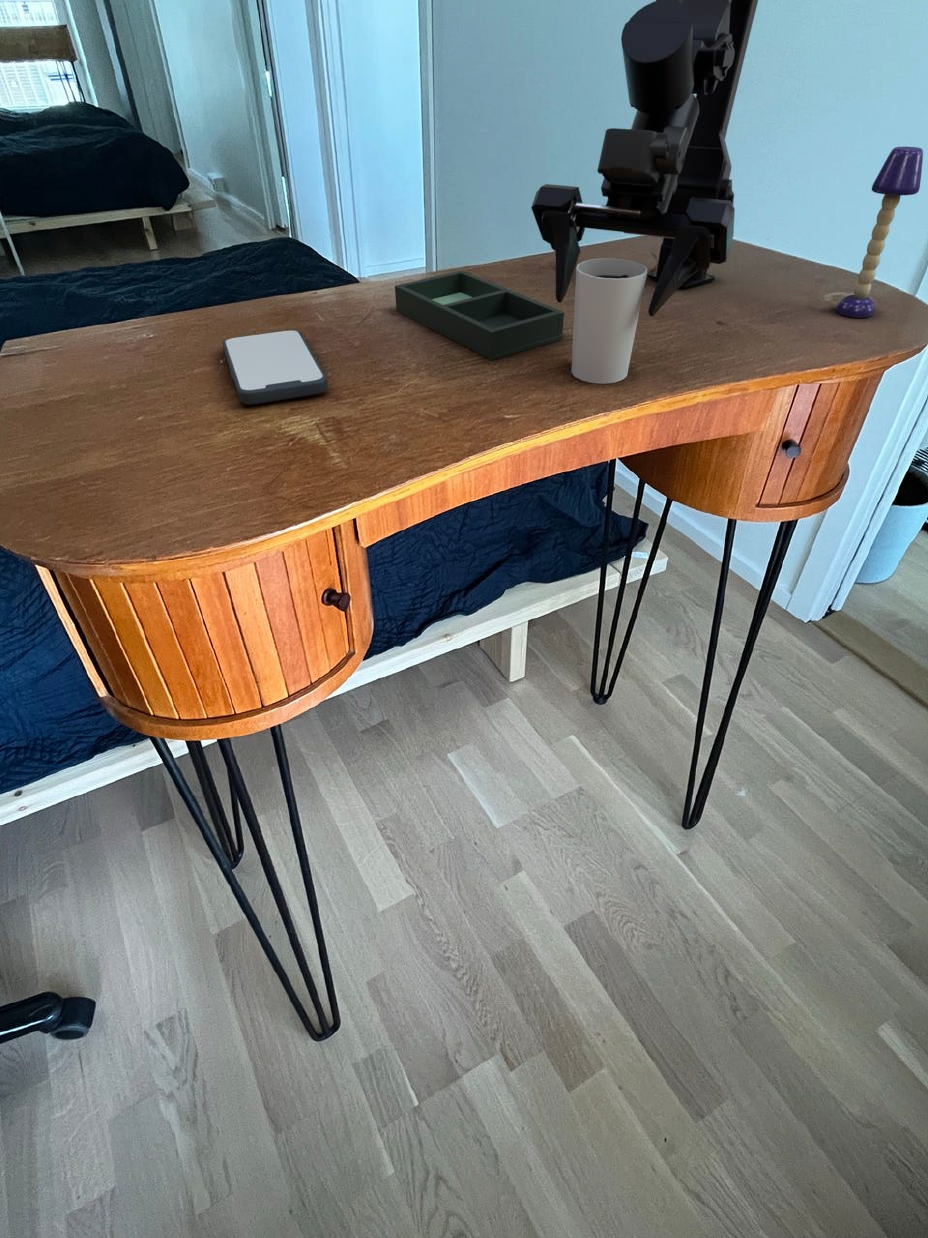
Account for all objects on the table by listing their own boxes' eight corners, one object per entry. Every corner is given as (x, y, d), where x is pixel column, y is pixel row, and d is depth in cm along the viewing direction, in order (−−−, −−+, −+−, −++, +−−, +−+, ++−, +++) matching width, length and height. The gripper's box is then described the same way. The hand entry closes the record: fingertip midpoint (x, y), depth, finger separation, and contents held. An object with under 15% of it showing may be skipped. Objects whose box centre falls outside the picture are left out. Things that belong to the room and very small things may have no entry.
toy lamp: (824, 309, 87) (875, 146, 75) (849, 302, 88) (903, 142, 77) (858, 320, 83) (917, 153, 72) (883, 313, 85) (944, 148, 74)
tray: (462, 294, 92) (462, 269, 90) (562, 339, 80) (564, 311, 78) (396, 310, 88) (394, 285, 86) (491, 360, 76) (491, 331, 74)
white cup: (609, 355, 77) (622, 254, 70) (644, 378, 72) (662, 273, 65) (555, 365, 75) (563, 263, 68) (587, 390, 70) (599, 282, 63)
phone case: (223, 353, 79) (241, 410, 67) (219, 338, 78) (237, 393, 66) (302, 341, 81) (332, 395, 70) (299, 327, 80) (330, 379, 69)
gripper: (545, 79, 64) (490, 245, 64) (760, 87, 57) (700, 271, 57) (568, 167, 74) (521, 309, 74) (752, 182, 68) (701, 337, 68)
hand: (603, 306), depth 68 cm, fingers open, 9 cm apart
